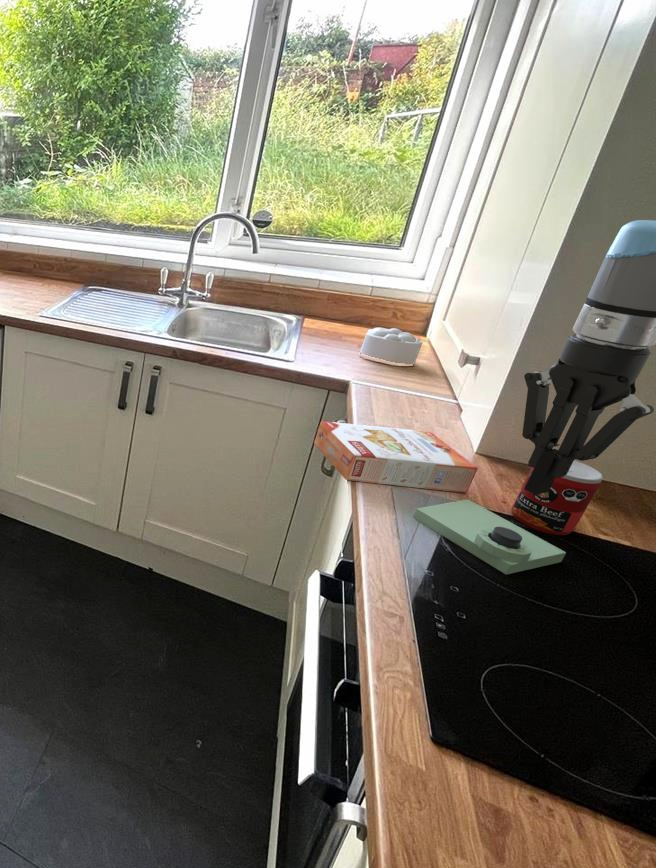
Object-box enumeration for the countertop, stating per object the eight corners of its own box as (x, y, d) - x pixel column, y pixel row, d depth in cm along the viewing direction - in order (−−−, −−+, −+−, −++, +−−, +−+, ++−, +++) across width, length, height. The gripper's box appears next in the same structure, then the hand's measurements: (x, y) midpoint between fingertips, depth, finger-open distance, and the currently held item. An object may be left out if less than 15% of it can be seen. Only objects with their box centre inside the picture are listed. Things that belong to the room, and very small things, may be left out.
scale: (561, 562, 89) (571, 544, 88) (503, 575, 86) (513, 557, 85) (463, 508, 102) (471, 491, 100) (410, 517, 99) (417, 500, 97)
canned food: (499, 513, 101) (526, 458, 96) (526, 504, 103) (553, 451, 99) (555, 541, 94) (586, 484, 90) (582, 531, 97) (614, 475, 93)
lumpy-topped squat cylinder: (362, 349, 177) (371, 322, 174) (415, 360, 169) (425, 333, 166) (357, 358, 170) (366, 330, 167) (412, 370, 162) (423, 341, 159)
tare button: (523, 547, 87) (528, 538, 87) (507, 551, 87) (512, 541, 86) (499, 534, 90) (503, 525, 90) (484, 537, 89) (488, 528, 89)
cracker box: (481, 466, 103) (354, 454, 106) (468, 494, 106) (344, 482, 108) (431, 429, 116) (319, 419, 119) (420, 455, 119) (311, 445, 121)
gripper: (532, 327, 82) (469, 470, 90) (661, 360, 70) (575, 521, 79) (567, 323, 84) (502, 464, 92) (698, 355, 72) (610, 512, 81)
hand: (536, 490), depth 86 cm, fingers closed
